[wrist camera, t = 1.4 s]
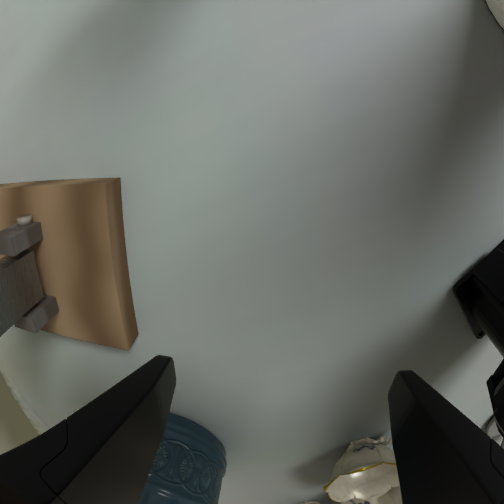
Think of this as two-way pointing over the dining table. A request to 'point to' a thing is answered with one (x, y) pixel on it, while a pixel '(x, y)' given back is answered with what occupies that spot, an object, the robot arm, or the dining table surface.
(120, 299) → the board
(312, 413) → the dining table surface
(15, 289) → the lever
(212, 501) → the canister
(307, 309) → the dining table surface
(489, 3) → the bottle
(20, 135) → the dining table surface
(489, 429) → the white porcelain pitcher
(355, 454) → the chinaware
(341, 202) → the dining table surface
